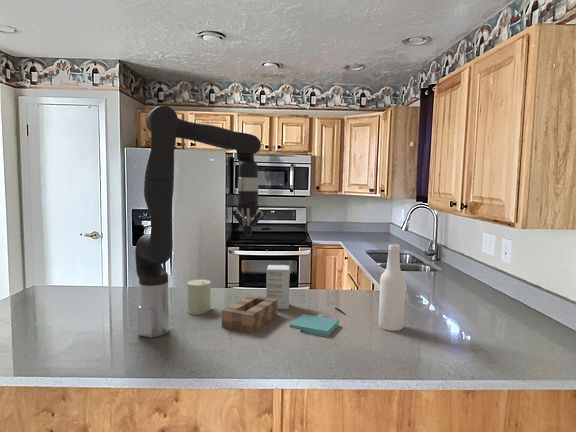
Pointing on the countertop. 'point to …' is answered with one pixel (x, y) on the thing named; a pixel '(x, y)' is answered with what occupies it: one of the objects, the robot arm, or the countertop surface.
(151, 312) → the robot arm
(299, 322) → the cover plate
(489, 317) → the countertop surface
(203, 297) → the can
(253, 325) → the slot box
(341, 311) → the fork
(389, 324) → the alcohol
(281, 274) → the supplement box
